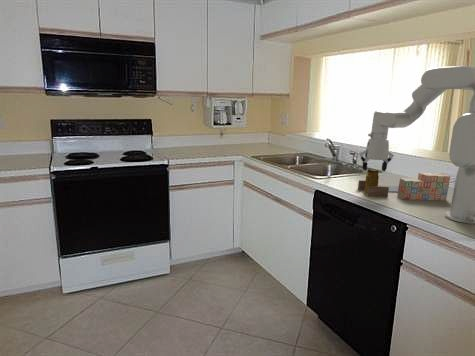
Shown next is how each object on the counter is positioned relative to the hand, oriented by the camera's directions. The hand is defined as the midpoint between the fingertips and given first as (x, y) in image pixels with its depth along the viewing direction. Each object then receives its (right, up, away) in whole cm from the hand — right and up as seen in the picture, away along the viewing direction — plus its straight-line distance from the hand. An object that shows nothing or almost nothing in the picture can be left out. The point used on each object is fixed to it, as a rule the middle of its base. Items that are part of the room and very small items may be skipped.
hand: (374, 170), depth 178 cm
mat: (+14, -10, +11) cm, 20 cm away
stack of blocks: (+22, -14, -4) cm, 26 cm away
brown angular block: (0, -12, +2) cm, 12 cm away
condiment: (0, -12, +2) cm, 12 cm away
